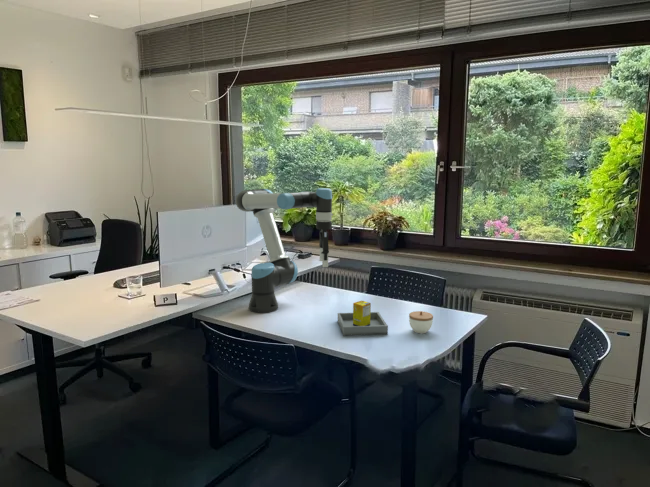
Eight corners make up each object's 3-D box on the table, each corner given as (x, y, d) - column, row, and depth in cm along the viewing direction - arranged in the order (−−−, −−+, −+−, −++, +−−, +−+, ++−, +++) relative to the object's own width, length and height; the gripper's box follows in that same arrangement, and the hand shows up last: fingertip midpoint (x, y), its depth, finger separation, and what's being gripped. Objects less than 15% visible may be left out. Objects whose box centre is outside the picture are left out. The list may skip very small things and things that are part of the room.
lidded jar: (427, 337, 217) (428, 316, 215) (404, 332, 222) (405, 312, 221) (435, 329, 226) (436, 310, 224) (413, 325, 231) (414, 306, 230)
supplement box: (361, 322, 232) (361, 300, 230) (370, 325, 228) (371, 302, 226) (352, 325, 228) (352, 302, 226) (362, 328, 224) (362, 305, 222)
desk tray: (337, 321, 237) (337, 313, 236) (378, 319, 239) (378, 311, 238) (343, 335, 217) (343, 327, 217) (387, 334, 219) (387, 325, 219)
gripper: (334, 224, 224) (334, 269, 228) (328, 217, 248) (328, 258, 252) (318, 224, 223) (318, 269, 227) (314, 217, 247) (314, 258, 251)
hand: (323, 263), depth 239 cm, fingers open, 13 cm apart
